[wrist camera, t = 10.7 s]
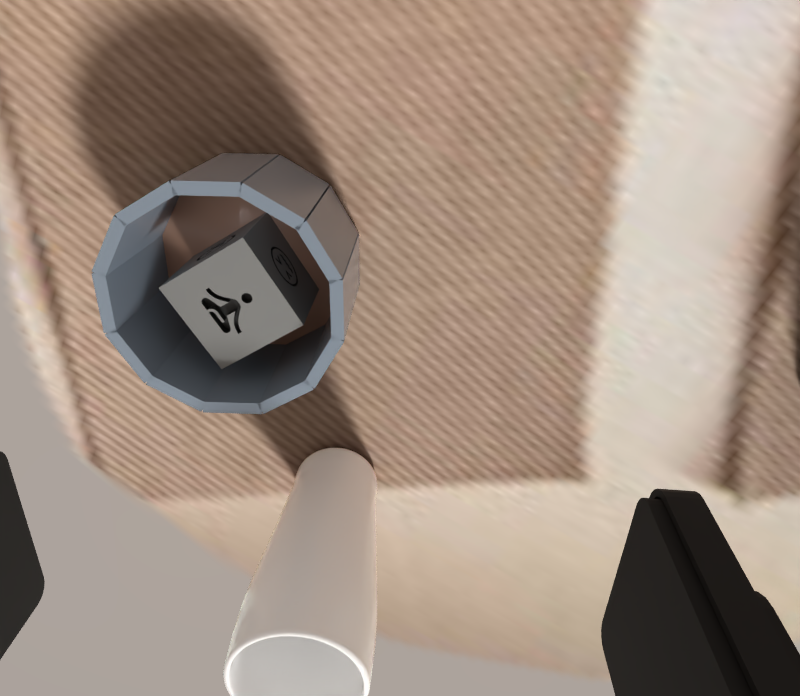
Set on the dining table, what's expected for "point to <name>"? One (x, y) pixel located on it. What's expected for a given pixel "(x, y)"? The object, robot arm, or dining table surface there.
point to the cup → (199, 229)
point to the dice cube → (242, 291)
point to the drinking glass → (313, 589)
